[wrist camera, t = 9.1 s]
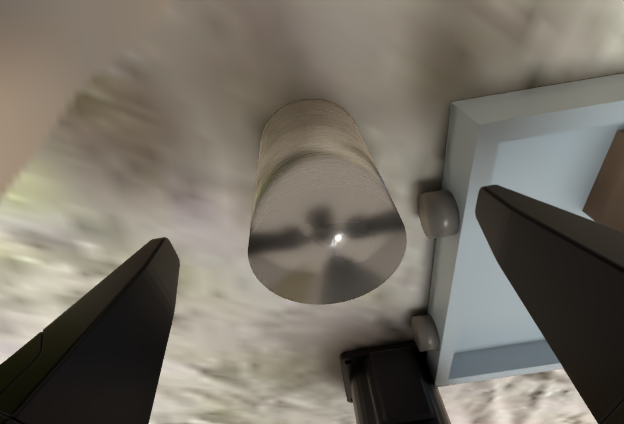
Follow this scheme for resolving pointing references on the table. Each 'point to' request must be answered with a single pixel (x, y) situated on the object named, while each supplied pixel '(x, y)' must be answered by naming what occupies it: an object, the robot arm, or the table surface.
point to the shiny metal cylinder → (321, 209)
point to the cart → (468, 234)
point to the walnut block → (609, 188)
